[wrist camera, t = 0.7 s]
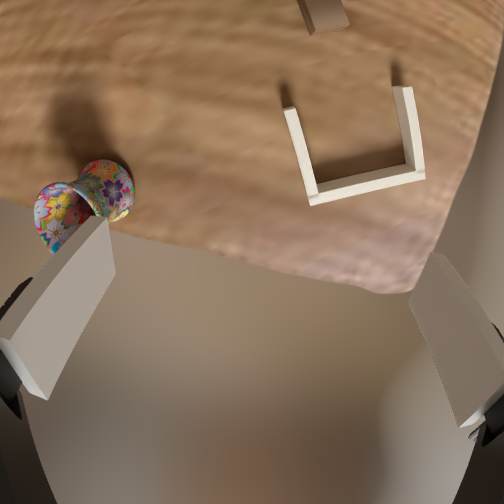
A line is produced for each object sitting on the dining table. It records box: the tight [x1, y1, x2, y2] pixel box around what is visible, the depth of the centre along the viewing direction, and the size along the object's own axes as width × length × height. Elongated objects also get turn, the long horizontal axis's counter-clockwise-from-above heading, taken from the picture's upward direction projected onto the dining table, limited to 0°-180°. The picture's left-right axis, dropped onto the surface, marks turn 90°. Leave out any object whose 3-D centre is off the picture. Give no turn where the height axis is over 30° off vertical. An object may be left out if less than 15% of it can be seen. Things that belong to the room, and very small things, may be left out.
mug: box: [34, 159, 135, 254], centre depth 33 cm, size 12×9×11 cm
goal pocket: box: [283, 85, 426, 206], centre depth 31 cm, size 11×14×3 cm
